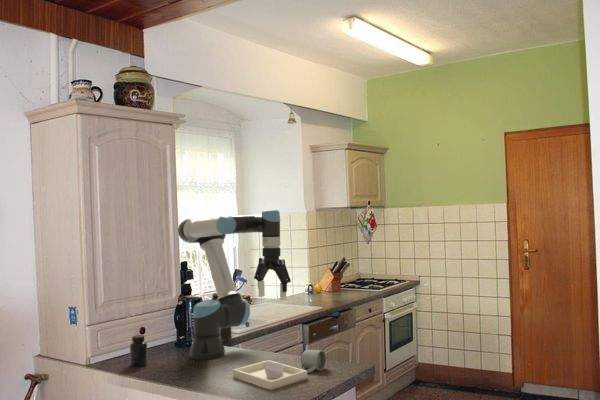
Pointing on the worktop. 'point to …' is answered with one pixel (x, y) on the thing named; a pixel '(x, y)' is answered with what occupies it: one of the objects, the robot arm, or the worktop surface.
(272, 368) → the grey rough-textured block
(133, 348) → the supplement bottle
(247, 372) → the tray
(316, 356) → the ceramic mug
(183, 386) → the worktop surface
